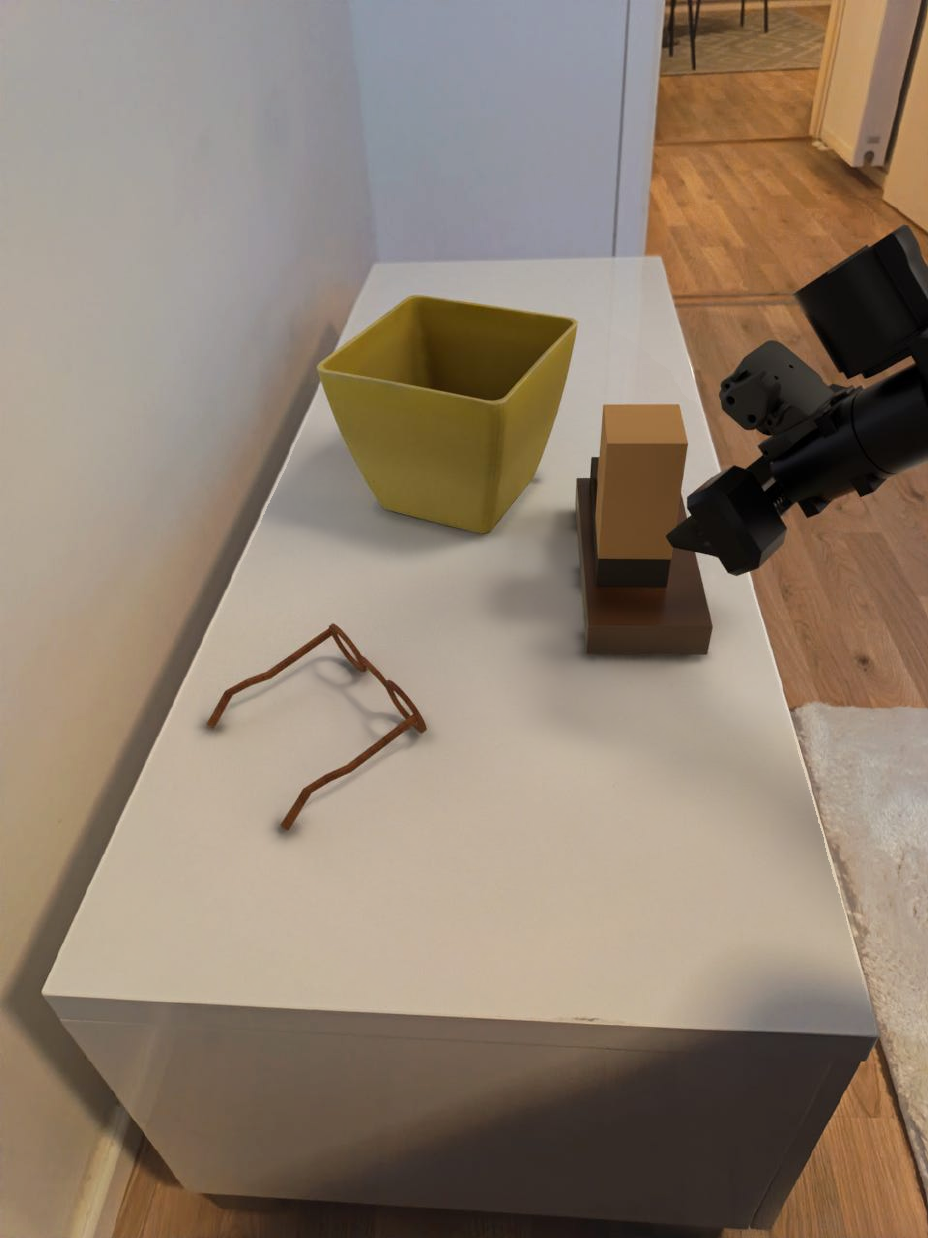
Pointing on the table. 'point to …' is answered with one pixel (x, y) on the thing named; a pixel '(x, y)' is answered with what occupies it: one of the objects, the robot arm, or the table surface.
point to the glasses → (361, 667)
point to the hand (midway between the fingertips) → (702, 513)
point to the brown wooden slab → (641, 601)
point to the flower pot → (450, 405)
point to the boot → (636, 493)
